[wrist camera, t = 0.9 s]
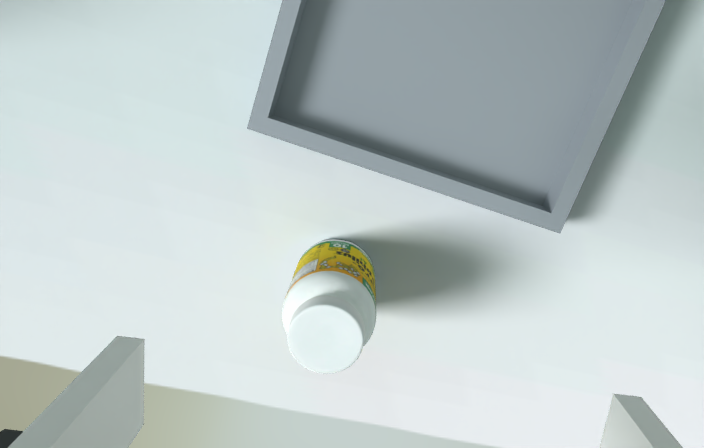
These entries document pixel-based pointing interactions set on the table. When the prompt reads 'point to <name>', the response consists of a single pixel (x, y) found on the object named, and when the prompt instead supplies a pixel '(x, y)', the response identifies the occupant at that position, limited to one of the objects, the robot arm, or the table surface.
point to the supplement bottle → (330, 306)
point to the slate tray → (456, 91)
